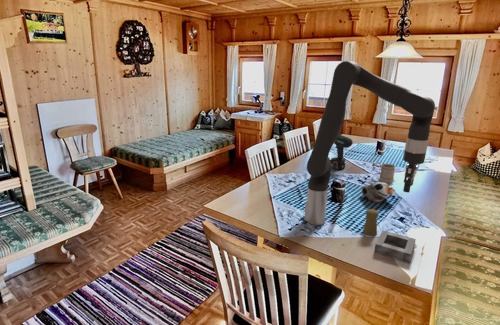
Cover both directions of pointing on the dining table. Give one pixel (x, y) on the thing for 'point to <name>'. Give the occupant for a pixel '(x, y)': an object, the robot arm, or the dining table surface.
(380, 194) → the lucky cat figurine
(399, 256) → the square holder
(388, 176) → the mug
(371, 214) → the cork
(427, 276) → the dining table surface
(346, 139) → the power drill
